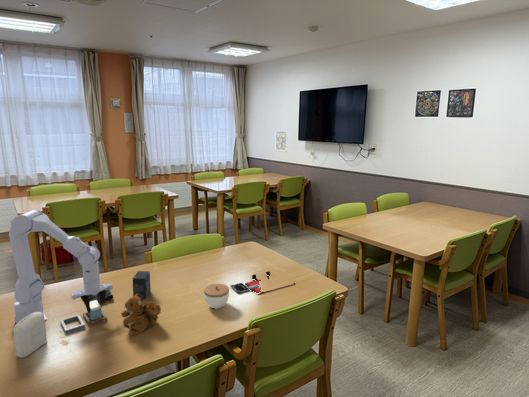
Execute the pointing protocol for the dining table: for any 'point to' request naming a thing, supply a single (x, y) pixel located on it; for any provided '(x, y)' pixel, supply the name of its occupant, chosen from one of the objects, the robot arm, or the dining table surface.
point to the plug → (95, 310)
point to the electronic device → (108, 295)
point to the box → (141, 284)
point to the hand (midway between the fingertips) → (94, 310)
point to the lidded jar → (216, 295)
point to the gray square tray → (72, 327)
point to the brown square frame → (91, 323)
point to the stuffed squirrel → (139, 314)
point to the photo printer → (29, 334)
